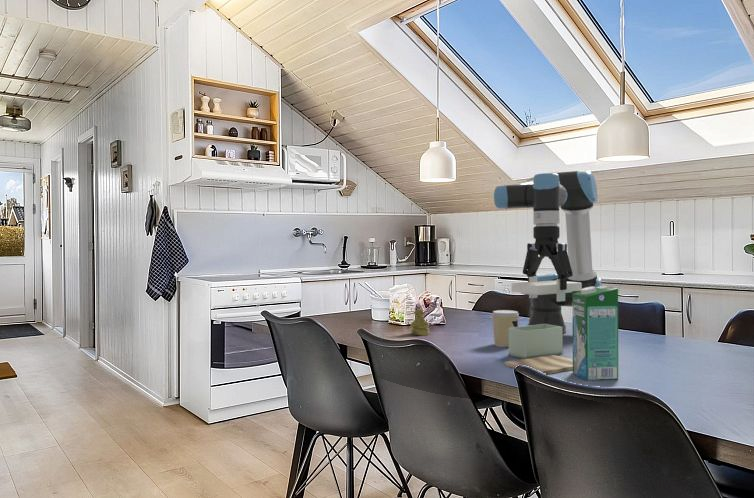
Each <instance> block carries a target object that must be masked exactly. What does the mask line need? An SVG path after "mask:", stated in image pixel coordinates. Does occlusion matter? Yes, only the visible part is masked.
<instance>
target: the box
mask: <svg viewBox="0 0 754 498" xmlns="http://www.w3.org/2000/svg"><path fill="white" fill-rule="evenodd" d="M563 338H564V336H563V333H562V327H561V326H555V325H549V324H538V325H529V326H527V325H522V326H518V327H512V328H509V347H508V356H511V357H514V358H518V359H528V358H534V357H541V356H548V355H556V356H559V355H563V353H564V352H563V346H564V345H563V343H564V342H563Z"/></svg>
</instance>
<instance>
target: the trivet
mask: <svg viewBox="0 0 754 498" xmlns="http://www.w3.org/2000/svg"><path fill="white" fill-rule="evenodd" d="M518 365H526V366H529V367H532V368H534V369H536V370H539V371H541V372H543V373H546V375H551V374H556V373H557V374H558V373H563V372H569V371H573V358H569V357H565V356H559V355H548V356H541V357H534V358H528V359H522V358H520V359H517V360H516V359H515V360H509V361H504V366H506V367H510V368H512V369H515V368H514V367H516V366H518Z"/></svg>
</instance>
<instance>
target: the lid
mask: <svg viewBox="0 0 754 498" xmlns="http://www.w3.org/2000/svg"><path fill="white" fill-rule="evenodd" d="M581 289H582V283H581V282H568V281H567V289H566V290H565V293H571V292H572V291H581ZM511 292H514V293H515V292H516V293H520V294H522V295H523V294H524V295H529V294H530V295H546V294H557V281H556V280H555V281H539V282H528V281H527V282H524V281H523V282H512V283H511Z"/></svg>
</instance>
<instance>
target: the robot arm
mask: <svg viewBox="0 0 754 498" xmlns="http://www.w3.org/2000/svg"><path fill="white" fill-rule="evenodd" d="M493 201H494V205H495V207H496V208H497V209H505V210H507V209H525V208H529V209H530V208H533V209H532V211H533V215H532V216H533V220H532V221H533V223H532V224H533V225H535V226H533V228H532V229H533V230H532V231H533V239H535V240H534V241H535V242H528V243H527V244H526V246H527V248H526V255H525V258H524V259H525V260H524V264H523V269H522V274H523V275H526V277H527V282H539V281H555V280H556V281H557V294H546V295H530V294H528V296H529V297H528V299H531V300H530V301H531V313H530V316H529V320H528V323H527V324H526V326H529V325H538V324H549V325H555V326H561V327H562V334H565V333H566V332H567V326H566V324H565V320H564V317H563V313H562V307H570V308H571V307H572V294H573V293H577V292H580V291H572V292H571V293H565V290H566V289H567V281H568V282H581V283H582V289H583V288H586V287H592V286H594V287H598V286H601V285H602V278H601V277H599V276H598V275H597V271H595V270H594V269H593V257H592V255H593V254H592V239H591V220H590V219H591V218H590V210H592V209H593V208H594V203H596V202H597V201H598V188H597V182H596V178H595V176H594V174H593V173H592V172H591V171H589V170H587V171H586V170H574V171H573V170H572V171H560V172H558V171H557V172H546V173H545V172H544V173H542V172H541V173H537V174H534V176H533V177H530V178H527V180H525V181H524V182H523V181H522V182H519V183H515V184H507V185H506V184H504V185H498V186H496V187H495V188H494V191H493ZM560 210H562V212H564V214H565V228H566V229H565V230H566V242H567V243H565V242H564V243H560V242H559V240H558V239H560V235H561V233H560V232H561V231H560V228H561V227H560V226H559V225H560ZM545 257H546V258H548V260H550V261H551V263H552V265H553V267H554V268H553V269H554V270H555V272H556V273H550V274H549V273H548V274H540V275H537V272H538V270H539V268H540V266H541V264H542V261H543V259H545Z"/></svg>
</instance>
